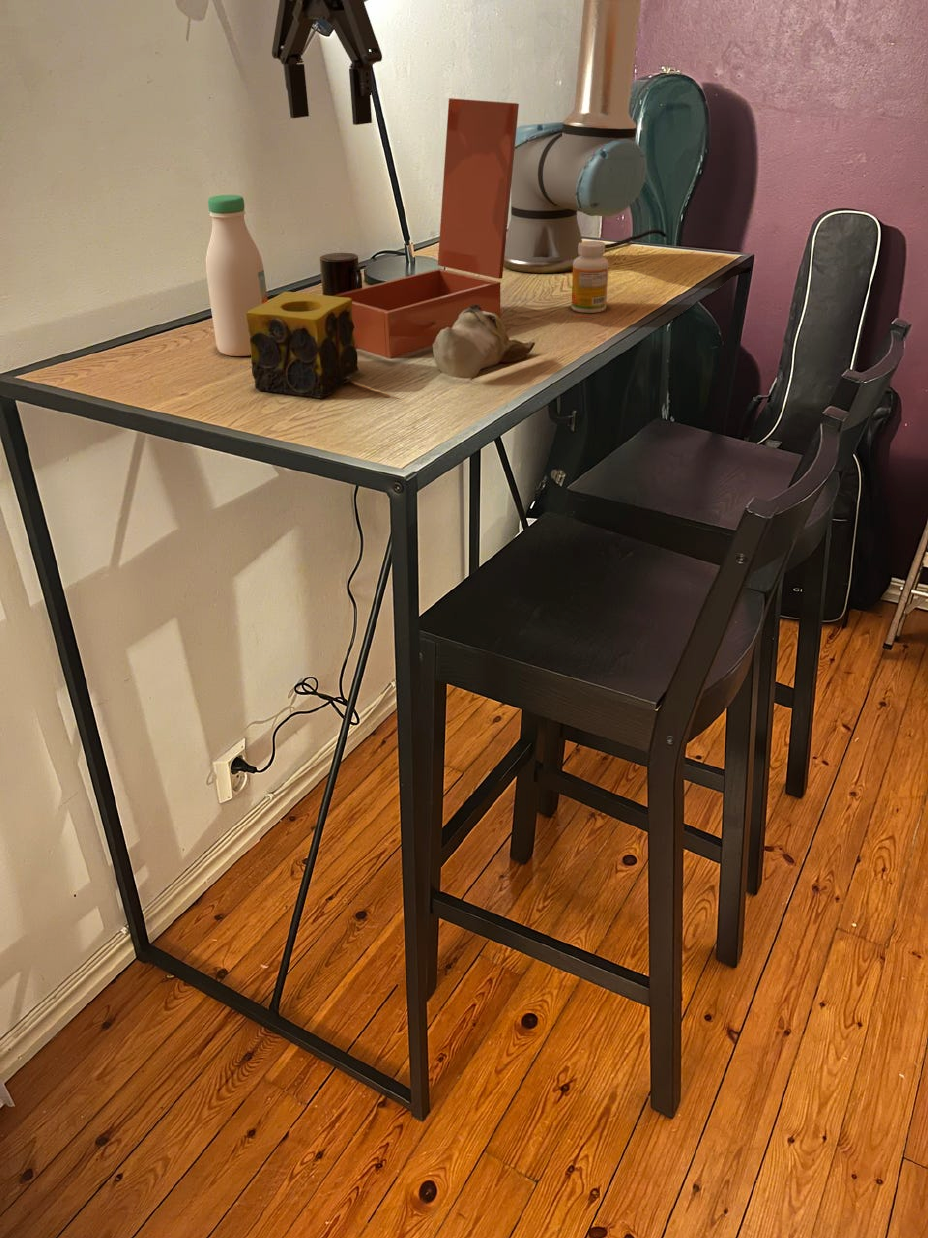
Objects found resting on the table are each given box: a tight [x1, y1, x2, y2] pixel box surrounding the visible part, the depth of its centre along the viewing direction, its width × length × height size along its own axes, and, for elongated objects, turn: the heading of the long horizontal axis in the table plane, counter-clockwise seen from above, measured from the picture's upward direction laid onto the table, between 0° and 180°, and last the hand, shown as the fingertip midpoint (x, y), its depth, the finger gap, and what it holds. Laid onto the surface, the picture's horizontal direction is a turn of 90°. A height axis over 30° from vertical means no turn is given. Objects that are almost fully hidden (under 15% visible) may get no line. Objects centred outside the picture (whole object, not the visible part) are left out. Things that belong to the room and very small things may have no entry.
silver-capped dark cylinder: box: [319, 252, 363, 296], centre depth 150 cm, size 8×6×10 cm
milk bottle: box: [205, 194, 269, 357], centre depth 137 cm, size 8×8×20 cm
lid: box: [437, 97, 520, 280], centre depth 144 cm, size 22×13×1 cm
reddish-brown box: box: [332, 268, 501, 360], centre depth 144 cm, size 22×13×7 cm, turn 135°
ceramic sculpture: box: [432, 305, 536, 381], centre depth 131 cm, size 11×9×15 cm
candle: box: [246, 291, 359, 399], centre depth 127 cm, size 10×10×10 cm
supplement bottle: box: [571, 240, 610, 314], centre depth 155 cm, size 5×5×10 cm
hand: (330, 120), depth 139 cm, fingers open, 13 cm apart
